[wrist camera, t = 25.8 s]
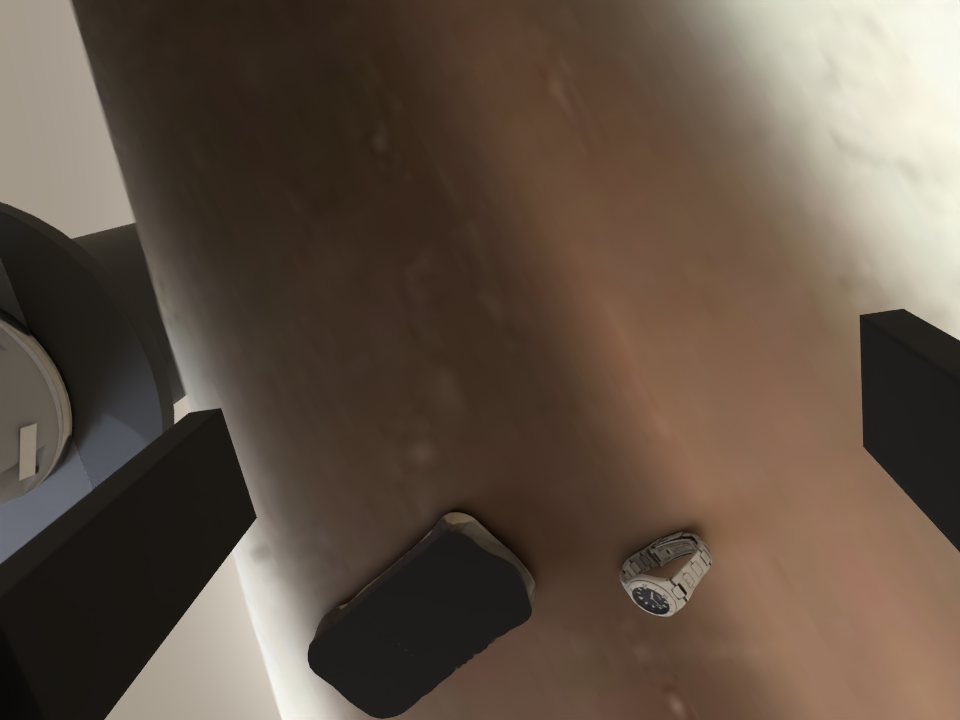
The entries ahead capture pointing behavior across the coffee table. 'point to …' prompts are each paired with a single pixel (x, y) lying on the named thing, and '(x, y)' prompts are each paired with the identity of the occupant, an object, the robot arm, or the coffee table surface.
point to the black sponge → (422, 618)
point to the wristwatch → (666, 592)
